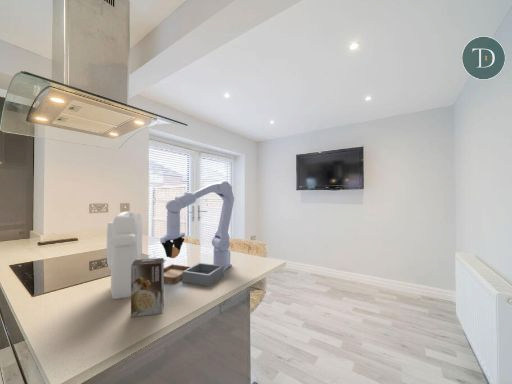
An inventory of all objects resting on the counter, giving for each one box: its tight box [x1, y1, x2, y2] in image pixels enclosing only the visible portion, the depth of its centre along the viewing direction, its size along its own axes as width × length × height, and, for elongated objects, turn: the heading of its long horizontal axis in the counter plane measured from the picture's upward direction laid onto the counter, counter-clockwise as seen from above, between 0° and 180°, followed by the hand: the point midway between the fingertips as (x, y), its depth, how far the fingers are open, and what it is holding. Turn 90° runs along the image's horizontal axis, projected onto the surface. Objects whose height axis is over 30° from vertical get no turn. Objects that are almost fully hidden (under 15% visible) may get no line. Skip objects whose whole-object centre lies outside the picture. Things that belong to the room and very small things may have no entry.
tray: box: [164, 264, 191, 285], centre depth 104 cm, size 15×13×2 cm
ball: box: [169, 246, 180, 259], centre depth 104 cm, size 5×5×5 cm
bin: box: [181, 262, 224, 287], centre depth 101 cm, size 13×13×4 cm
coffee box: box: [130, 257, 165, 318], centre depth 73 cm, size 9×6×16 cm
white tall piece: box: [106, 211, 143, 300], centre depth 90 cm, size 27×11×30 cm, turn 21°
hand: (173, 255), depth 104 cm, fingers closed on ball, 5 cm apart
